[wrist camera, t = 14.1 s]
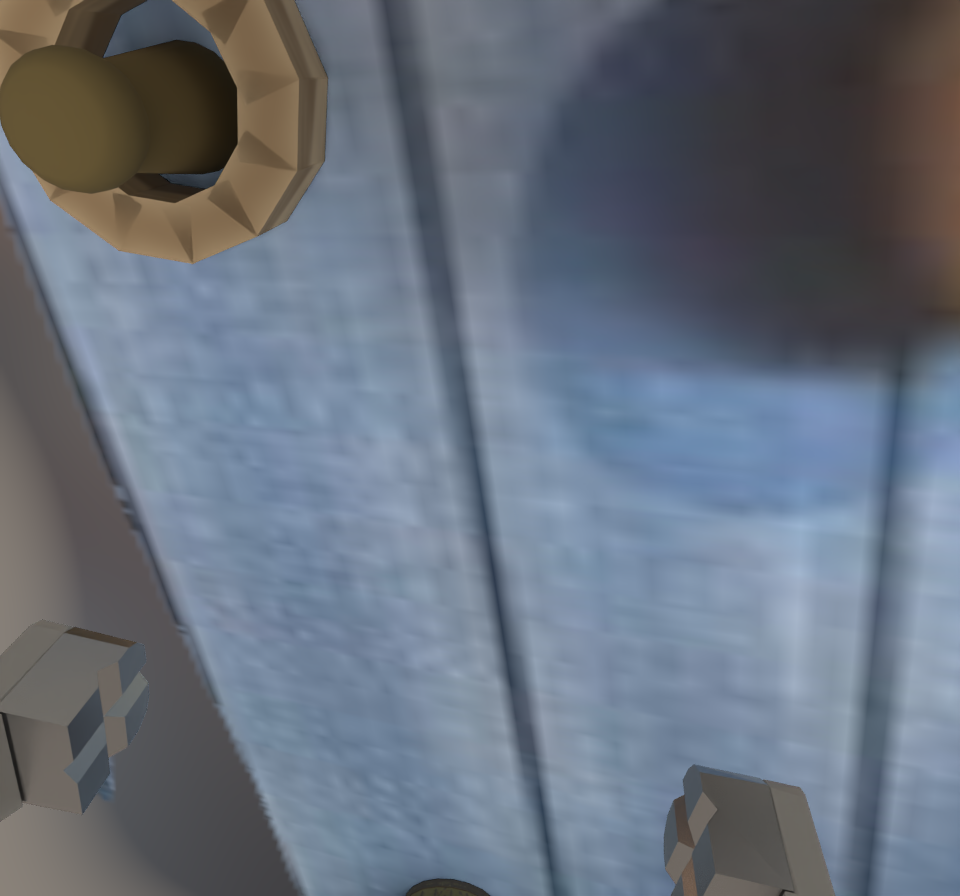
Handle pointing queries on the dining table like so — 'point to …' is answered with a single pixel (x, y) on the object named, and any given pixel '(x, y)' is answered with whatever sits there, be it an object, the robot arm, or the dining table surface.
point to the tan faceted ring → (261, 125)
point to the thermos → (445, 888)
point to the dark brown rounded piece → (119, 113)
